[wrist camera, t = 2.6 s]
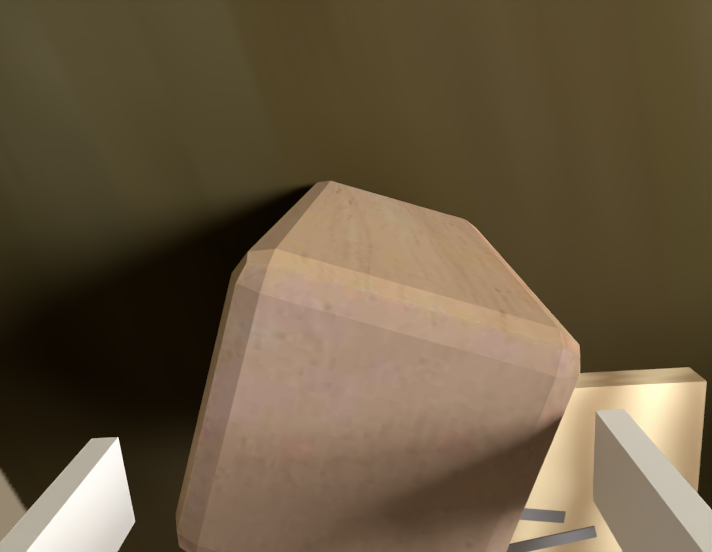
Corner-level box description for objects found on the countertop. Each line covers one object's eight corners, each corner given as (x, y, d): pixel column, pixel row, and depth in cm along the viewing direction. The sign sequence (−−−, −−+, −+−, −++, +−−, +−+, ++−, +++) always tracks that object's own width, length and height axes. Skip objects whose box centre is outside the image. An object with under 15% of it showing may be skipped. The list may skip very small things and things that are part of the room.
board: (689, 367, 36) (707, 381, 34) (673, 582, 40) (689, 607, 38) (272, 389, 38) (266, 404, 36) (298, 594, 42) (294, 619, 40)
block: (428, 372, 37) (480, 649, 18) (275, 329, 37) (157, 564, 17) (479, 221, 34) (607, 352, 15) (315, 174, 34) (230, 246, 15)
